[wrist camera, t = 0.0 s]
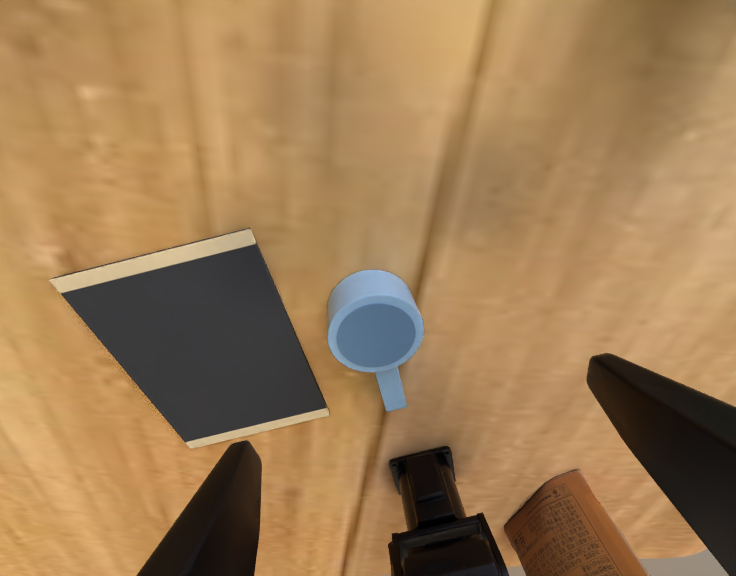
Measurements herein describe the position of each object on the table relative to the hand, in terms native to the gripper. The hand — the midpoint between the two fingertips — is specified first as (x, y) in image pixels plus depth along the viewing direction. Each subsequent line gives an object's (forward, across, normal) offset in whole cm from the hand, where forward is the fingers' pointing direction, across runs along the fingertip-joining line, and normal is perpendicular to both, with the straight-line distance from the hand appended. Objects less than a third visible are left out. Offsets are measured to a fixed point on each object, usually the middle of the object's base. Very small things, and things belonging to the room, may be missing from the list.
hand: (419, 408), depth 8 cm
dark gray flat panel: (+15, +14, +7) cm, 21 cm away
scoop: (+15, +1, +9) cm, 18 cm away
